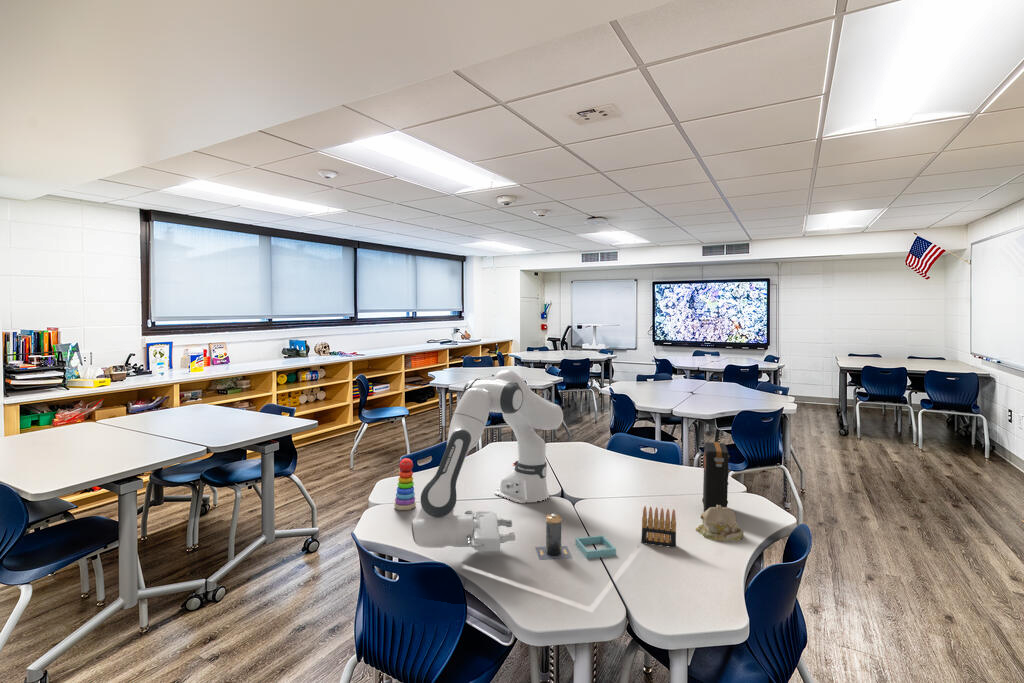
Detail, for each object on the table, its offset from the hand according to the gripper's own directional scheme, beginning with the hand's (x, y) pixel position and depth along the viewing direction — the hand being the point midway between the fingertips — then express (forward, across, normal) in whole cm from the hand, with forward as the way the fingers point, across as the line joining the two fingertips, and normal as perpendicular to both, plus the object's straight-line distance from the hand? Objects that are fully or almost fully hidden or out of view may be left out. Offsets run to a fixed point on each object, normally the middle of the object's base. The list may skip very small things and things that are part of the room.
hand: (513, 529), depth 146 cm
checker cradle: (+12, 0, +8) cm, 15 cm away
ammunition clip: (+47, +5, +8) cm, 48 cm away
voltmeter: (+79, +29, +8) cm, 85 cm away
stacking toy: (-37, +43, +9) cm, 57 cm away
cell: (+12, 0, +8) cm, 14 cm away
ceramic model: (+71, +11, +8) cm, 72 cm away
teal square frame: (+25, +1, +8) cm, 27 cm away
